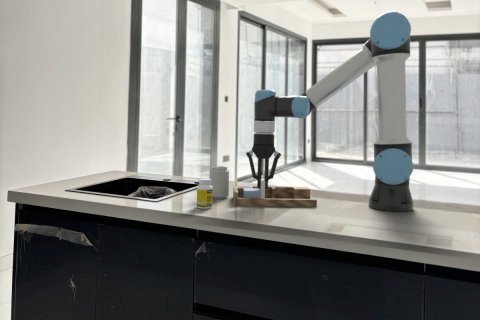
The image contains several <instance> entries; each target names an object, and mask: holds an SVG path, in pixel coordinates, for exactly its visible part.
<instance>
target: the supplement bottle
mask: <svg viewBox="0 0 480 320" xmlns="http://www.w3.org/2000/svg"><path fill="white" fill-rule="evenodd" d="M198 183H199V184H198V185H197V186H196V208H198V209H203V210H207V209H212V208H213V199H214V198H213V187H212V186H211V185H210V184H211V179H210V178H206V177H205V178H200V179H199V180H198Z"/></svg>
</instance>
